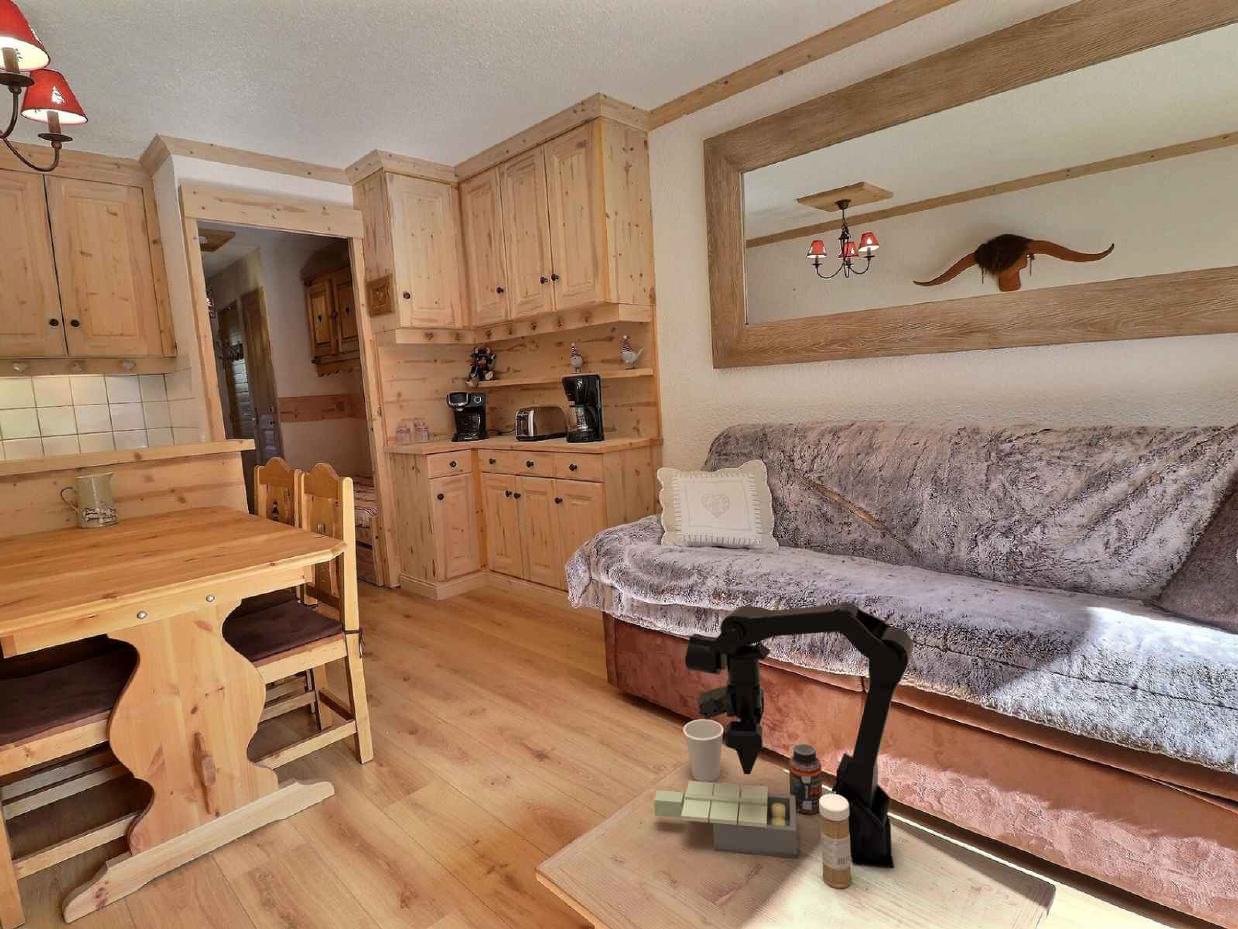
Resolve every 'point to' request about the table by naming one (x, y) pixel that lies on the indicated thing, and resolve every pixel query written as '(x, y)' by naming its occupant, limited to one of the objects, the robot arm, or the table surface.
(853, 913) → the table surface
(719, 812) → the lid
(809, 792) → the supplement bottle
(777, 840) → the tub
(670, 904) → the table surface
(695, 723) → the dixie cup
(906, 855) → the table surface
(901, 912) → the table surface
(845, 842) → the sprinkles bottle
